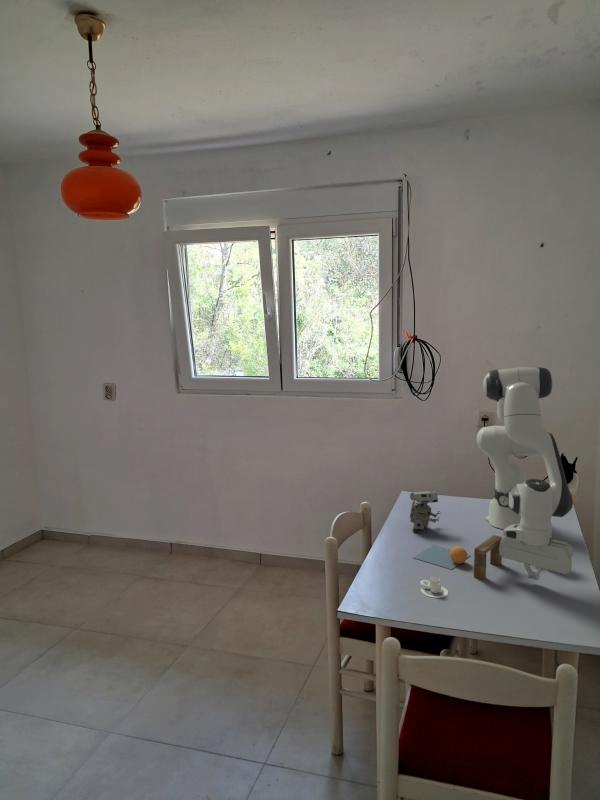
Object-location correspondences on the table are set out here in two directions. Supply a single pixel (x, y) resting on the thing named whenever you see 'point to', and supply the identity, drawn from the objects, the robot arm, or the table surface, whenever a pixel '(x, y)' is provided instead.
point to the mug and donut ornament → (433, 587)
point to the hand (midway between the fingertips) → (533, 578)
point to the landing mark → (437, 557)
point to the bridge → (480, 556)
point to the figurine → (422, 509)
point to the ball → (458, 555)
